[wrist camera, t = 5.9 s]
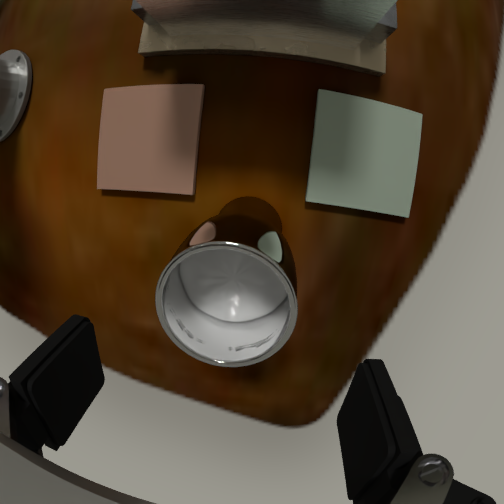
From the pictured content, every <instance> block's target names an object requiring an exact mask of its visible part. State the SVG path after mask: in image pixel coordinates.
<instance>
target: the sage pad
mask: <svg viewBox="0 0 504 504" xmlns="http://www.w3.org/2000/svg"><path fill="white" fill-rule="evenodd" d="M421 126H422V114H420V113H417V112H414V111H411V110H407V109H404V108H400V107H397V106H393V105H390V104H386V103H382V102H378V101H374V100H370V99H366V98H362V97H357V96H353V95H348V94H343V93H338V92H333V91H328V90H322V89H319V90H318V93H317V104H316V114H315V123H314V132H313V141H312V150H311V158H310V166H309V174H308V182H307V190H306V197H305V200H306V201H308V202H315V203H322V204H329V205H336V206H343V207H349V208H355V209H362V210H368V211H374V212H380V213H385V214H391V215H396V216H402V217H407V218H409V212H410V207H411V202H412V196H413V190H414V184H415V178H416V171H417V163H418V155H419V147H420V137H421Z"/></svg>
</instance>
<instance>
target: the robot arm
mask: <svg viewBox="0 0 504 504" xmlns="http://www.w3.org/2000/svg"><path fill="white" fill-rule="evenodd" d="M31 83H32V68H31V63H30V60H29V58H28V56H27V55H26V54H25V53H24V52H22V51H18V50H9V51H6V52H5V53H3V54H1V55H0V142H1V141H3V140H5V139H6V138H7V137H8V136H9V135H10V134H11V133H12V132H13V131H14V129H15V128H16V126H17V125H18V123H19V121H20V119H21V117H22V115H23V113H24V110H25V108H26V105H27V102H28V99H29V95H30V90H31ZM9 378H10V382H9V383H7V382H6V380H4V379H3V378H1V377H0V504H156V503H152V502H149V501H145V500H142V499H139V498H136V497H132V496H130V495H127V494H124V493H121V492H118V491H116V490H113V489H110V488H108V487H105V486H103V485H100V484H97V483H95V482H93V481H90V480H88V479H85V478H83V477H81V476H79V475H77V474H74V473H72V472H70V471H68V470H66V469H64V468H62V467H60V466H58V465H56V464H54V463H53V462H51V461H49V460H47V459H45V458H43V453H42V446H43V445H44V444H45V445H46V446H48V447H49V448H51V449H53V450H55V451H57V450H58V448H59V447H60V446H63V445H64V444H65V443H66V441H67V439H68V438H69V437H70V435H71V433H72V432H73V430H74V429H75V427H76V426H77V424H78V422H79V421H80V420H81V418H82V417H83V415H84V414H85V412H86V410H87V409H88V407H89V406H90V404H91V403H92V401H93V400H94V398H95V397H96V395H97V394H98V392H99V391H100V389H101V388H102V386H103V384H104V380H105V379H104V374H103V369H102V365H101V360H100V356H99V351H98V347H97V342H96V336H95V331H94V326H93V324H92V323H91V322H90V320H89V318H87V317H83V316H80V315H73V316H71V317H70V318H69V319H68V320H67V321H66V322H65V323H64V324H63V325H61V326H60V327H59V328H58V329H57V330H56V331H55V332H54V333H53V334H52V335H51V336H50V337H49V338H47V339H46V340H45V341H44V342H43V343H42V344H41V345H40V346H39V347H38V348H37V349H36V350H35V351H34V352H33V353H32V354H31V355H30V356H29V357H28V358H27V359H26V360H25V361H24V362H23V363H22V364H21V365H20V366H19V367H18V368H17V369H16V370H15V371H14V372H13V373H12V374H11V375H10V376H9ZM337 427H338V433H339V439H340V446H341V452H342V458H343V466H344V472H345V479H346V487H347V495H348V499H349V500H353V504H496V502H495V501H494V499H493V498H491V497H490V496H488V495H486V494H484V493H482V492H479V491H477V490H475V489H473V488H471V487H469V486H467V485H465V484H462V483H460V482H458V481H456V480H454V479H453V476H454V472H453V467H452V465H451V463H450V462H449V461H448V460H447V459H446V458H444V457H443V456H441V455H437V454H426V455H423V453H422V450H421V447H420V444H419V442H418V439H417V437H416V434H415V431H414V429H413V426H412V424H411V421H410V418H409V416H408V413H407V411H406V409H405V406H404V404H403V401H402V399H401V398H400V397H399V396H398V395H397V393H396V390H395V388H394V385H393V383H392V381H391V378H390V376H389V374H388V371H387V369H386V367H385V365H384V362H383V361H382V360H381V359H365V360H364V362H363V363H359V365H358V367H357V370H356V372H355V375H354V377H353V380H352V382H351V385H350V387H349V390H348V392H347V395H346V397H345V399H344V402H343V404H342V406H341V409H340V411H339V413H338V416H337Z"/></svg>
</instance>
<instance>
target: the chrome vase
mask: <svg viewBox="0 0 504 504" xmlns="http://www.w3.org/2000/svg"><path fill="white" fill-rule="evenodd" d="M155 304H156V310H157V314H158V318H159V320H160V323H161V325H162V327H163V329H164V330H165V332H166V333H167V335H168V336H169V338H170V339H171V340H172V341H173V342H174V343H175V344H176V345H177V346H178V347H179V348H180V349H181V350H183V351H184V352H186V353H187V354H189V355H190V356H192V357H194V358H196V359H198V360H200V361H203V362H205V363H208V364H212V365H216V366H223V367H241V366H247V365H252V364H255V363H258V362H261V361H263V360H265V359H267V358H269V357H270V356H272V355H273V354H275V353H276V352H277V351H278V350H280V349H281V348H282V347H283V346H284V344H285V343H286V342H287V341H288V339H289V337H290V336H291V334H292V332H293V330H294V327H295V324H296V320H297V312H298V305H297V276H296V267H295V262H294V258H293V255H292V251H291V249H290V246H289V244H288V242H287V240H286V239H285V237H284V236H283V234H282V223H281V219H280V217H279V215H278V213H277V211H276V210H275V209H274V207H273V206H271V205H270V204H269V203H268V202H266V201H264V200H262V199H260V198H256V197H249V196H246V197H240V198H236V199H234V200H232V201H230V202H229V203H227V204H226V205H225V206H224V207H223V208H222V209H221V211H220V212H219V214H218V215H216V216H213V217H211V218H209V219H207V220H206V221H204V222H203V223H201V224H200V225H199V226H198V227H197V228H195V229H194V230H193V231H192V232H191V233H190V234H189V235H188V236H187V238H186V239H185V240H184V241H183V242H182V244H181V245H180V246H179V248H178V249H177V251H176V252H175V254H174V255H173V257H172V259H171V260H170V262H169V263H168V264H167V265H166V267H165V268H164V270H163V271H162V273H161V275H160V278H159V280H158V283H157V287H156V294H155Z"/></svg>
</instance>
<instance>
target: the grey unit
mask: <svg viewBox="0 0 504 504" xmlns="http://www.w3.org/2000/svg"><path fill="white" fill-rule="evenodd" d="M396 1H397V0H133V3H132V7H131V10H132V11H133V12H134V13H135V14H136V15H138V16H139V17H140V18H141V19H142V20H143V21H144V26H143V30H142V35H141V40H140V45H139V50H138V53H139V54H141V55H142V56H144V57H149V56H162V55H181V54H232V55H251V56H264V57H275V58H284V59H292V60H299V61H306V62H313V63H319V64H324V65H330V66H335V67H340V68H345V69H350V70H354V71H358V72H363V73H367V74H371V75H374V76H378V77H380V76H382V75H383V74H385V67H386V38H387V37H388V36H389V35H391V34H392V33H393V32H394V31H395V30H396V29H397V13H396Z"/></svg>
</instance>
